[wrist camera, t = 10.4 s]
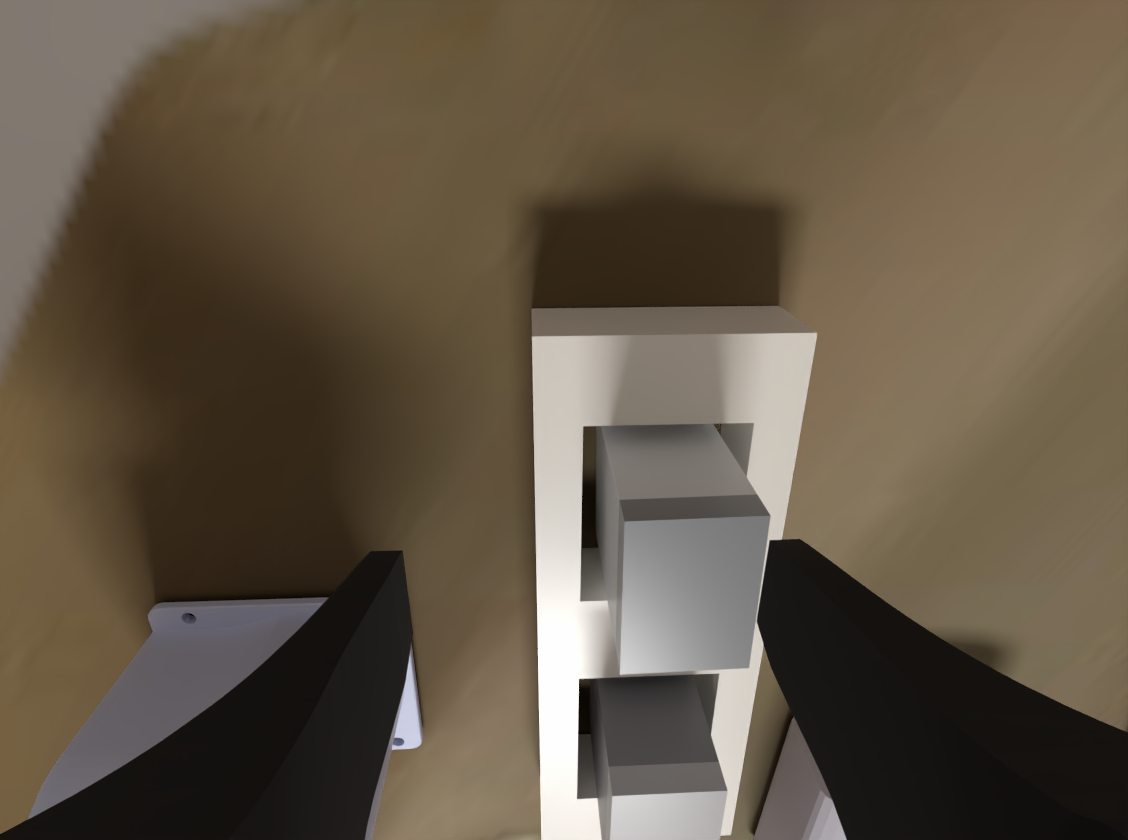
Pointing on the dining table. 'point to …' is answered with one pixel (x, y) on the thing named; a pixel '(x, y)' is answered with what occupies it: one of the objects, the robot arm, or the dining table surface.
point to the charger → (798, 797)
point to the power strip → (565, 570)
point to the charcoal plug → (654, 760)
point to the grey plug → (678, 547)
